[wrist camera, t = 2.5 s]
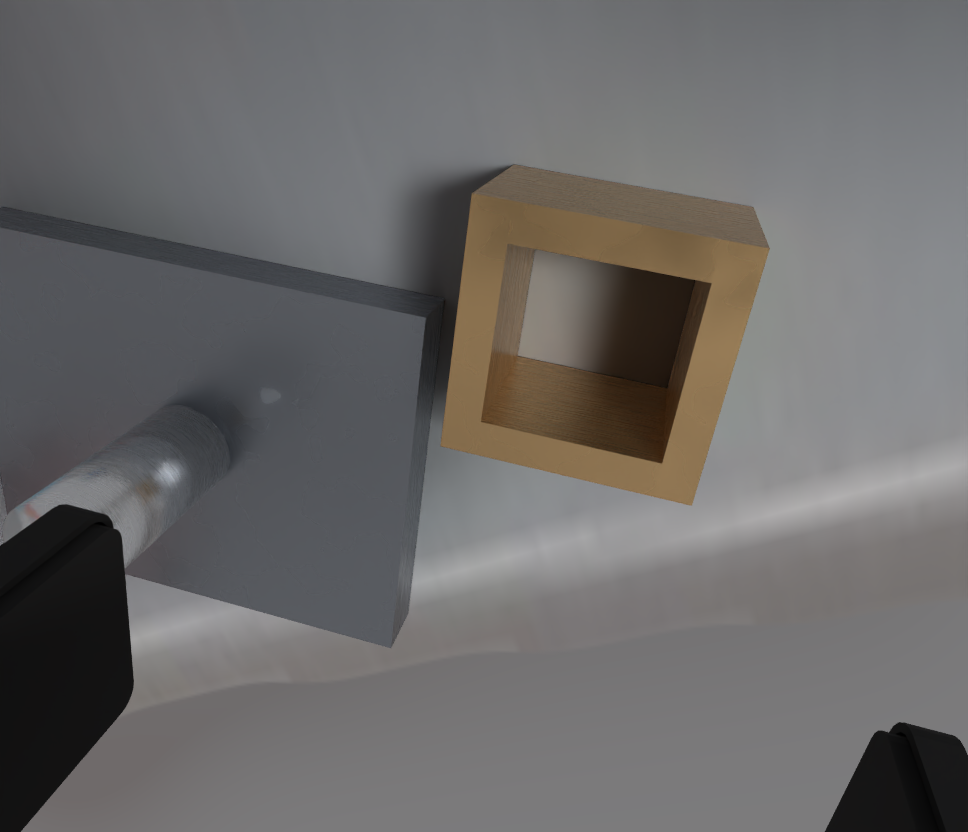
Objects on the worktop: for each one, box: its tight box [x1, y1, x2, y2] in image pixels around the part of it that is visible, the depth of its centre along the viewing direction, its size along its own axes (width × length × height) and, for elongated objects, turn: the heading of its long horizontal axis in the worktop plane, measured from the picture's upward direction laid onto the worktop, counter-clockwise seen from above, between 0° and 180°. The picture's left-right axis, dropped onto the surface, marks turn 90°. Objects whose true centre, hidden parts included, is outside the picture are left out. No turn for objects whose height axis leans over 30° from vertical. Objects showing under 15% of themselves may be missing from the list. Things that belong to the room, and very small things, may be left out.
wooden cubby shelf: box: [441, 165, 770, 506], centre depth 21 cm, size 7×7×5 cm
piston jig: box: [0, 207, 444, 648], centre depth 25 cm, size 16×13×8 cm
